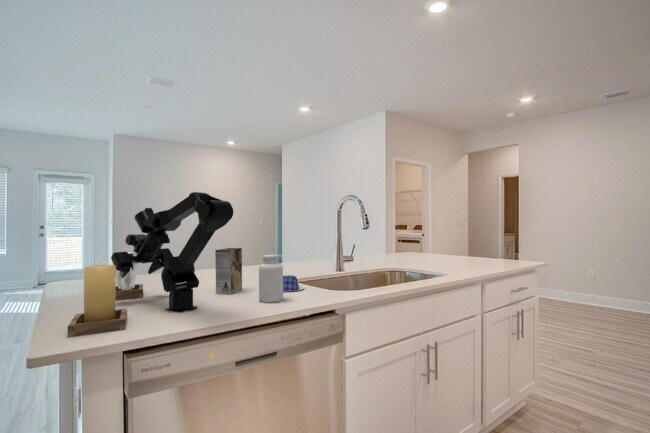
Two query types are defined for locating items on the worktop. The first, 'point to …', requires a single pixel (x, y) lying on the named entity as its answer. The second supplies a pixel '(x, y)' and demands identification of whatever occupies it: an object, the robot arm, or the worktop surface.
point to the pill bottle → (270, 279)
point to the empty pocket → (129, 293)
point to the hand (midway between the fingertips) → (135, 275)
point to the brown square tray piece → (97, 324)
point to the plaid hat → (291, 284)
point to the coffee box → (228, 270)
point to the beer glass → (127, 277)
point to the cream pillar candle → (99, 293)
